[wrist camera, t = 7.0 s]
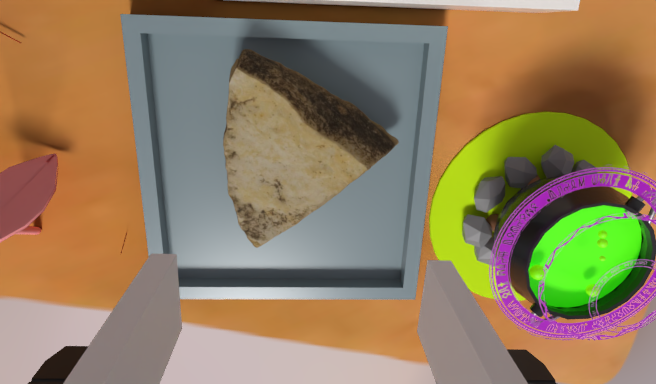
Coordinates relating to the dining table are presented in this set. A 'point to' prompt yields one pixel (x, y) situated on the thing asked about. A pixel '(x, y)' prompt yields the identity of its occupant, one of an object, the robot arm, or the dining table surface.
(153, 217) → the tray
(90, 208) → the dining table surface
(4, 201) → the flower sculpture
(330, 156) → the rock
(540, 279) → the toy cauldron
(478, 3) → the dish
